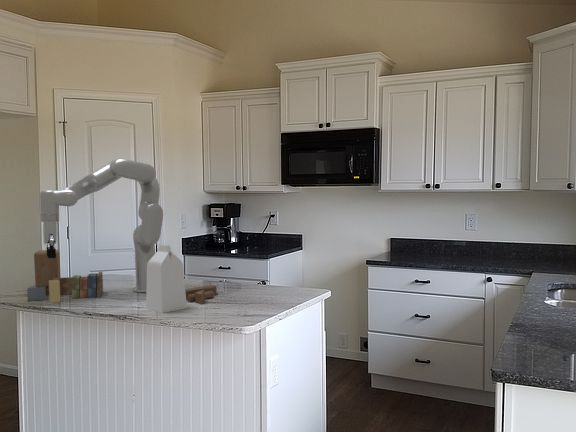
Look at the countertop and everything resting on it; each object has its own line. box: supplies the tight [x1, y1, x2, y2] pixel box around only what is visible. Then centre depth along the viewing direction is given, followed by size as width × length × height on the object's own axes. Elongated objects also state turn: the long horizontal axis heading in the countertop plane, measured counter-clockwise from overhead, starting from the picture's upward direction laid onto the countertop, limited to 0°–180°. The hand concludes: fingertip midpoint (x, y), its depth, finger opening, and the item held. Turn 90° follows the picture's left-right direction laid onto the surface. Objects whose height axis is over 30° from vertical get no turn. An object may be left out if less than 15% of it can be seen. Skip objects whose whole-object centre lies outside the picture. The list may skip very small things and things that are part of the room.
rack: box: [53, 271, 104, 300], centre depth 252 cm, size 22×12×10 cm, turn 102°
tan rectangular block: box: [49, 280, 61, 304], centre depth 241 cm, size 4×6×9 cm, turn 27°
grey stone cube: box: [26, 285, 50, 302], centre depth 246 cm, size 8×6×6 cm
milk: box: [145, 243, 188, 314], centre depth 222 cm, size 12×12×26 cm
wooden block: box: [33, 249, 61, 287], centre depth 262 cm, size 10×10×20 cm
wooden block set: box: [185, 284, 218, 305], centre depth 240 cm, size 17×6×18 cm
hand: (51, 256), depth 242 cm, fingers open, 9 cm apart
